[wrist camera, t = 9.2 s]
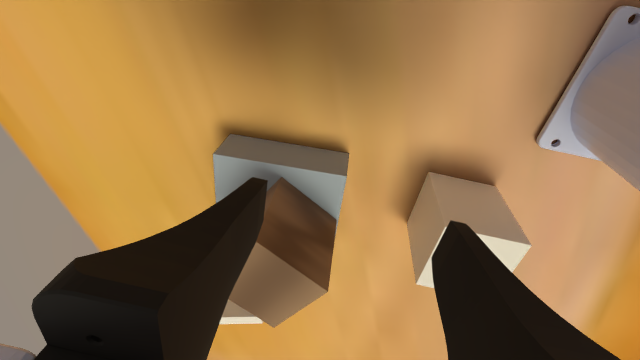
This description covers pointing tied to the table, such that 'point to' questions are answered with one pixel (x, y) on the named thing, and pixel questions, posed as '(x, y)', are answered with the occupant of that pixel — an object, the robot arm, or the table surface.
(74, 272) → the robot arm
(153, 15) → the table surface
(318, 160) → the base block
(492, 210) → the off-white block
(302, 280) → the walnut block
